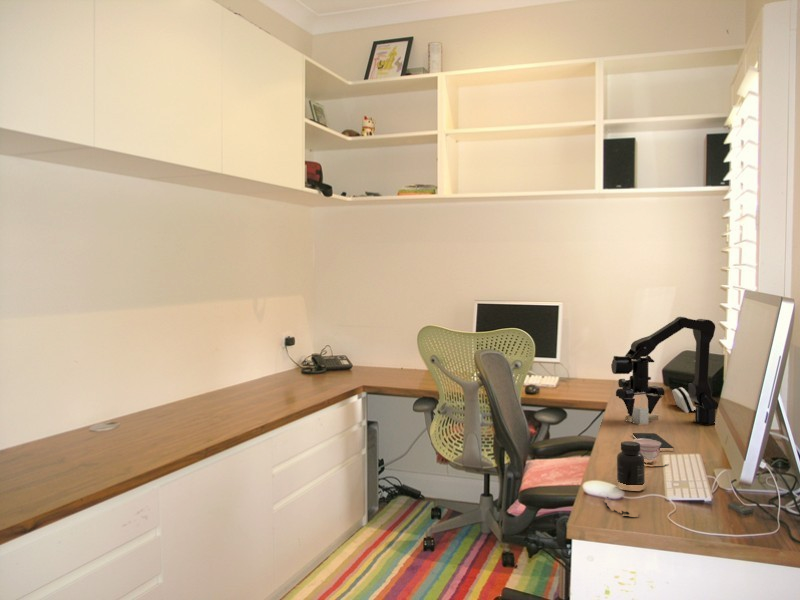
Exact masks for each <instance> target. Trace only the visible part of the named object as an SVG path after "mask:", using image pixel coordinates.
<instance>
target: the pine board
mask: <svg viewBox="0 0 800 600" xmlns="http://www.w3.org/2000/svg"><path fill="white" fill-rule="evenodd" d="M624 418H625V420H627V421H626V422H628V421H630V422H629V423H631V422H633V415H632V416H630V415H629V414H628V415H625V417H624ZM651 420H652V421H658V420H659V414H657V413H654V412H652V413H651V414H649V413H648V422H650V421H651Z"/></svg>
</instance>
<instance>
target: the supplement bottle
mask: <svg viewBox="0 0 800 600" xmlns="http://www.w3.org/2000/svg"><path fill="white" fill-rule="evenodd" d="M620 450H621V451H620V452H618V453H617V456H616V481H617V480H618V482H620V483H623V484H626V485H643V484H644V483H645V484H646V482H645V481H646V480H645V479H646V477H645V475H646V474H645V471H646V469H645V467H646V466H645V465H644V456H643V455H642V454H641V453H639V452H640V443H637V442H633V440H632V441H630V440H628V441H627V440H626V441H621V442H620Z"/></svg>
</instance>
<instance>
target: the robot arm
mask: <svg viewBox="0 0 800 600" xmlns="http://www.w3.org/2000/svg"><path fill="white" fill-rule="evenodd" d="M683 329H689V330H692V334H693V337H694V340H695V359H694V360H695V364H694V379H693V381H692V383H691V382H690V383H688V384H687V385H688V391H687V393H688V394H689V397H690V399H691V401H692V403H693V405H695V407H696V410H695V411H694V412H695V413H694V414H695V415H694V416H695V417H694V418H695V420H692V423H695V424H700V425H702V426H712V425H715V424H714V422H716V410H717V409H718V407H719V405H718V404H719V403H718V402H717V401H716V400H715V399H714V398H713V396H712V395H713V394H712V388H711V385H710V382H709V368H710V344H711V342H712V340H713V338H714V337H715V330H716V324H715V323H714V322H713V321H712V320H710V319H705V318H698V319H692V318H689V317H688V318H687V317H686V316H677V317H675V319H674V320H672V321H670V322H669V323H668V324H666V325H664V326H663V327H661V328H660V329H657V330H656V331H655V332H654V333H651V334H650V335H648V336H645V337H641V338H639V339H636V340H634V341H632V342H631V344H630V348H629V350H628V351H627V353H626V354H625V355H624V356H617V355H614V356H613V359H612V362H611V365H610V366H611V372H612V374H613V375H629V379H627V380H626V379H625V378H619V379H618V384H617V385H618V387H619V388H617V389H616V390H615V396H616V397H618V399H621V400H622V401H623V403H624V404H625V407H626V410H627V412H628V413H629V414H628V413H627V414H628V415H630V416H632V413H633V408H634V407H635V403H636V400H635V399H636V398H634V397H635V396H638V395H645V397H646V398H647V408H648V413H649V414H651V413H653V411H654V409H655V408H656V406H657V404H658V402H659V400H660V399H662V397H663V396H665V389H664V388H663V387H660V386H656V385H652V386H650V385H649V381H651V380H652V377H651V376H649V365H650V364H649V363H655V360H654V359H653V358H652V357H651V353H652V352H654V351H655V349H656V348H657V346H658V345H660V344H661V343H663V342H664V341H665V340H667V339H669V338H670V337H672V336H673V335H675V334H677V333H678V332H680V331H681V330H683ZM631 373H632V375H630V374H631ZM711 424H712V425H711Z"/></svg>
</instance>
